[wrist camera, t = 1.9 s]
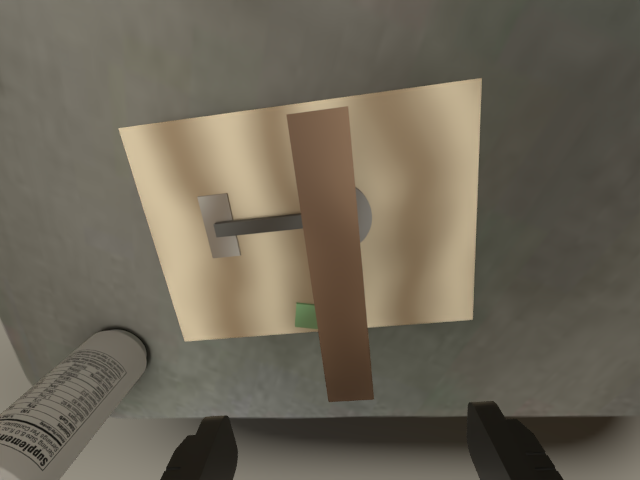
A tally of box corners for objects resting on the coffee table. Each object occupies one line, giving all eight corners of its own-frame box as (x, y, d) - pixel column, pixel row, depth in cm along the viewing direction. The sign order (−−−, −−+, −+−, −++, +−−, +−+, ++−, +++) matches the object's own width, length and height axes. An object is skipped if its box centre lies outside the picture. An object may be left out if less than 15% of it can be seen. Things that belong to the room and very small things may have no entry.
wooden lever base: (451, 88, 23) (483, 77, 18) (449, 289, 28) (473, 324, 23) (159, 127, 25) (116, 128, 20) (209, 309, 30) (184, 345, 25)
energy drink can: (85, 357, 33) (-106, 532, 19) (103, 314, 31) (-94, 472, 17) (140, 383, 34) (-3, 569, 19) (160, 342, 32) (19, 516, 18)
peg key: (363, 112, 19) (386, 100, 10) (376, 293, 23) (401, 397, 14) (196, 135, 20) (85, 142, 11) (236, 305, 24) (178, 410, 15)
